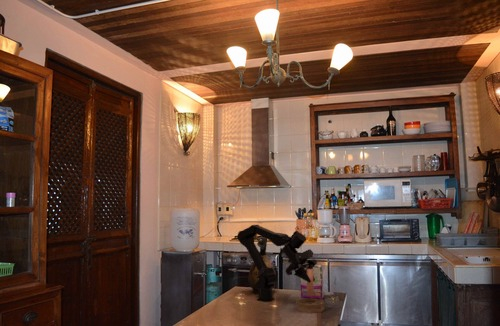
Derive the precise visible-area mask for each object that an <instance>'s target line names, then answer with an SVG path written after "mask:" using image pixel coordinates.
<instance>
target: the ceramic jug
mask: <svg viewBox="0 0 500 326" xmlns="http://www.w3.org/2000/svg"><path fill="white" fill-rule="evenodd" d="M267 243H268V239H267V238H265V237H263V236H262V238H261V240H258V241H257V245H256V246H258V247H259V253H260V255H261V257H262V258H263V260H264V262H265V264H266V266H267V267H268V268H271V267H272V268H273V270H274V272H275V273H276V270H275V267H274V265H273V264H272V262H271V260H270V258H269V257H268V254H267V245H268V244H267ZM275 275H276V276H277V273H276V274H275ZM247 280H248V281H247V282H248V285H249V287H251V289H252V294H256V295H259V288H257V287H256V283H257V282H258V280H259V277H258V269H257V267H256V265H255V263H254V262H253V261H252V264H251V266H250V268H249V271H248V276H247ZM275 285H276V283H275V284H274V286H275Z"/></svg>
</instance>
